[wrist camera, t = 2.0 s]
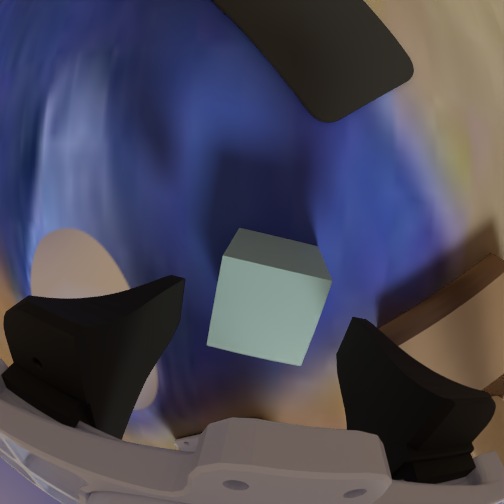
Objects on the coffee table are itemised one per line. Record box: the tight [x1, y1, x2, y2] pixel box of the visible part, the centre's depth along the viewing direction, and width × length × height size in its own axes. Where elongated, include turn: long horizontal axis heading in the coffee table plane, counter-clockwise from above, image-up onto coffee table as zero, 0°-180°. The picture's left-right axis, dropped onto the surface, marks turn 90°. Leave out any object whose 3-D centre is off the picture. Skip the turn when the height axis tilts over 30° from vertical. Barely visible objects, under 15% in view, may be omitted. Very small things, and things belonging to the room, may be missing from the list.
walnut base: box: [378, 253, 504, 390], centre depth 16 cm, size 10×10×3 cm
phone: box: [211, 0, 414, 123], centre depth 12 cm, size 7×1×15 cm
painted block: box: [207, 228, 332, 366], centre depth 15 cm, size 4×4×5 cm
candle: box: [472, 395, 504, 467], centre depth 15 cm, size 6×6×10 cm
